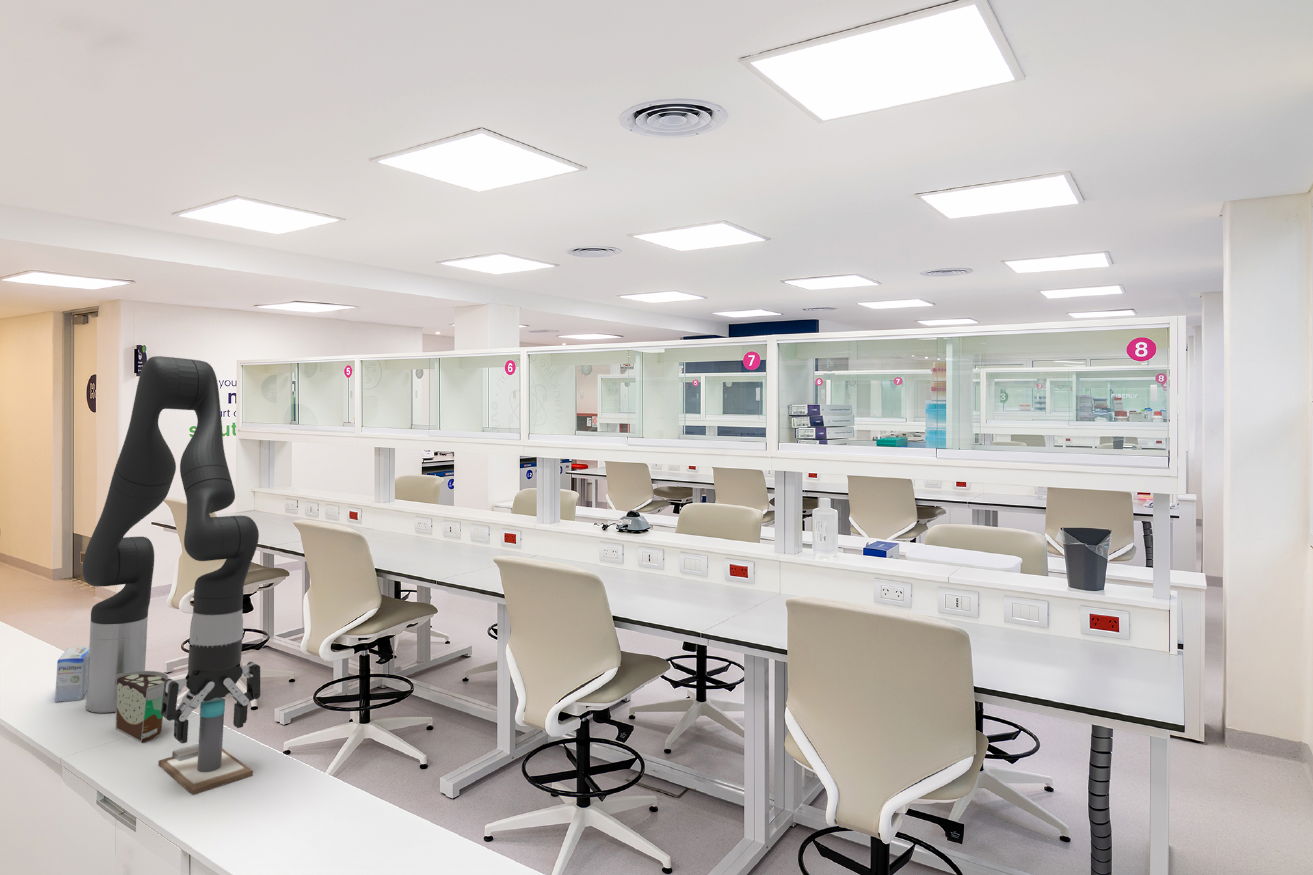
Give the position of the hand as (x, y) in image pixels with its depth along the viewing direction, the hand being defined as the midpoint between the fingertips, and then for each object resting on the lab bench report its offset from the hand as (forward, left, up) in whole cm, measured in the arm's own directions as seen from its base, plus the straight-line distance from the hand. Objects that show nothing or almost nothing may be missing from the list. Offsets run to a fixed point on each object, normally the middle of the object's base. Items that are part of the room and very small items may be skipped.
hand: (210, 733), depth 122 cm
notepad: (-1, 0, -7) cm, 7 cm away
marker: (0, 0, -6) cm, 6 cm away
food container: (-24, -1, -7) cm, 25 cm away
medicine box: (-52, -5, -7) cm, 53 cm away
